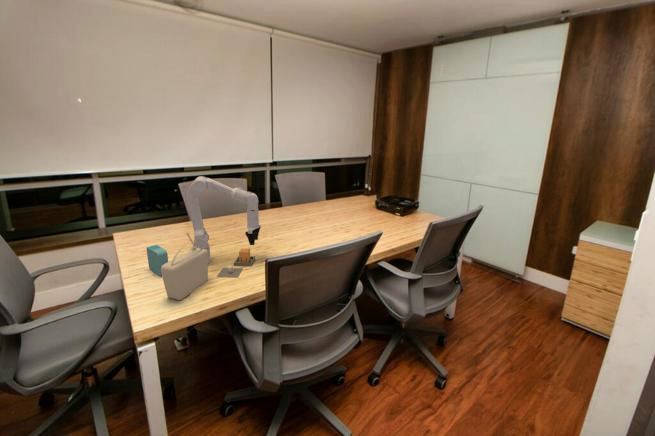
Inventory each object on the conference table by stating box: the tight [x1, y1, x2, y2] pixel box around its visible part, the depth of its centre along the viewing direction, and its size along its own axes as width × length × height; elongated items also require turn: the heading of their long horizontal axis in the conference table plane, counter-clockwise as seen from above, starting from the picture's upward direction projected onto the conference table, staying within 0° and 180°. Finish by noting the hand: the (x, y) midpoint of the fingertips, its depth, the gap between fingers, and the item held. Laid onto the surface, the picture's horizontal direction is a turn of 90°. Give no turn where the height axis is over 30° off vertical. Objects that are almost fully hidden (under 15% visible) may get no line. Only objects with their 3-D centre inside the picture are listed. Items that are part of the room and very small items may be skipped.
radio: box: [161, 231, 209, 301], centre depth 136 cm, size 22×8×25 cm, turn 163°
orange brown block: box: [238, 248, 251, 263], centre depth 165 cm, size 4×4×7 cm
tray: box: [233, 255, 256, 267], centre depth 166 cm, size 9×9×2 cm
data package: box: [146, 244, 169, 277], centre depth 153 cm, size 12×4×12 cm, turn 50°
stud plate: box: [216, 265, 244, 279], centre depth 154 cm, size 10×10×4 cm
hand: (253, 242), depth 169 cm, fingers open, 7 cm apart
